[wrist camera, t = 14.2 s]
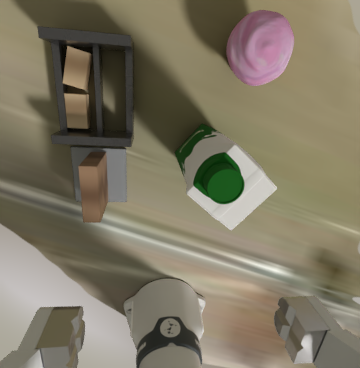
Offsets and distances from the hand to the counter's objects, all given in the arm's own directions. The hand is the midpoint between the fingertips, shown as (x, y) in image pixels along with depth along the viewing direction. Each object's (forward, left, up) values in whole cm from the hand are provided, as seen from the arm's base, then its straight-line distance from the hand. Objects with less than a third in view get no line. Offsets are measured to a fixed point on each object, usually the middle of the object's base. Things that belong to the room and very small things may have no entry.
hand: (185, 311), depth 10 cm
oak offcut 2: (+4, +13, -35) cm, 38 cm away
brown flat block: (-7, +10, -34) cm, 37 cm away
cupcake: (+14, -13, -35) cm, 40 cm away
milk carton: (-2, -8, -35) cm, 36 cm away
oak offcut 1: (+10, +12, -35) cm, 39 cm away
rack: (+7, +10, -35) cm, 37 cm away
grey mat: (-7, +10, -35) cm, 37 cm away
